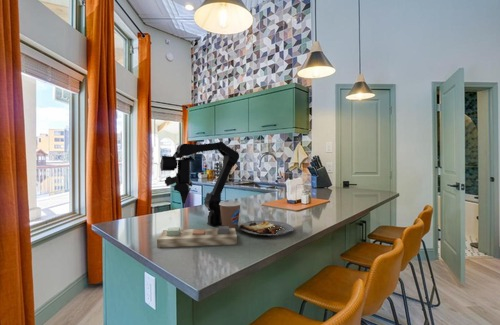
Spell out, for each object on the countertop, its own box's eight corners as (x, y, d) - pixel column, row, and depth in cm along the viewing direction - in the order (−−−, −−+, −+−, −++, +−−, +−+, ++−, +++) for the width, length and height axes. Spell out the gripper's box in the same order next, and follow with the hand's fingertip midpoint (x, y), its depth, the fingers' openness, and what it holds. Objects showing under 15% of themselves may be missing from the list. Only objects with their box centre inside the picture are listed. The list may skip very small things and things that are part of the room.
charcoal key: (228, 234, 106) (228, 226, 106) (229, 237, 101) (229, 228, 101) (218, 234, 105) (218, 226, 105) (218, 237, 101) (218, 229, 101)
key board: (234, 234, 110) (234, 228, 110) (236, 244, 98) (236, 236, 98) (163, 237, 106) (163, 230, 106) (156, 247, 94) (156, 239, 94)
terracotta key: (204, 238, 105) (204, 229, 104) (204, 241, 100) (204, 232, 100) (193, 238, 104) (193, 230, 104) (192, 241, 100) (192, 233, 100)
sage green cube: (179, 235, 103) (179, 227, 103) (178, 239, 99) (178, 230, 99) (168, 236, 103) (168, 227, 103) (166, 239, 98) (166, 230, 98)
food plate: (264, 242, 100) (264, 233, 100) (229, 230, 117) (229, 223, 117) (302, 232, 117) (302, 224, 117) (266, 223, 134) (266, 216, 134)
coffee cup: (234, 232, 113) (234, 206, 113) (214, 229, 117) (215, 204, 117) (244, 227, 122) (244, 202, 122) (226, 224, 127) (226, 200, 126)
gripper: (169, 169, 127) (169, 200, 127) (161, 171, 108) (161, 207, 109) (192, 169, 128) (192, 200, 129) (188, 171, 110) (188, 207, 110)
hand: (183, 203), depth 119 cm, fingers closed
